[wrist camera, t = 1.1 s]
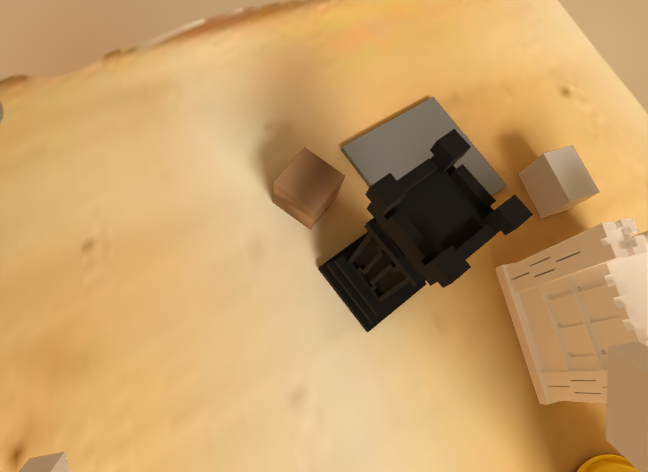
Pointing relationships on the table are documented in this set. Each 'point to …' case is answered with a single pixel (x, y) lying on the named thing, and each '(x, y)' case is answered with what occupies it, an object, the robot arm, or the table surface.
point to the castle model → (579, 308)
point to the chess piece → (418, 233)
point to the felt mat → (414, 147)
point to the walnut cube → (307, 187)
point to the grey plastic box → (557, 181)
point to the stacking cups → (607, 464)
